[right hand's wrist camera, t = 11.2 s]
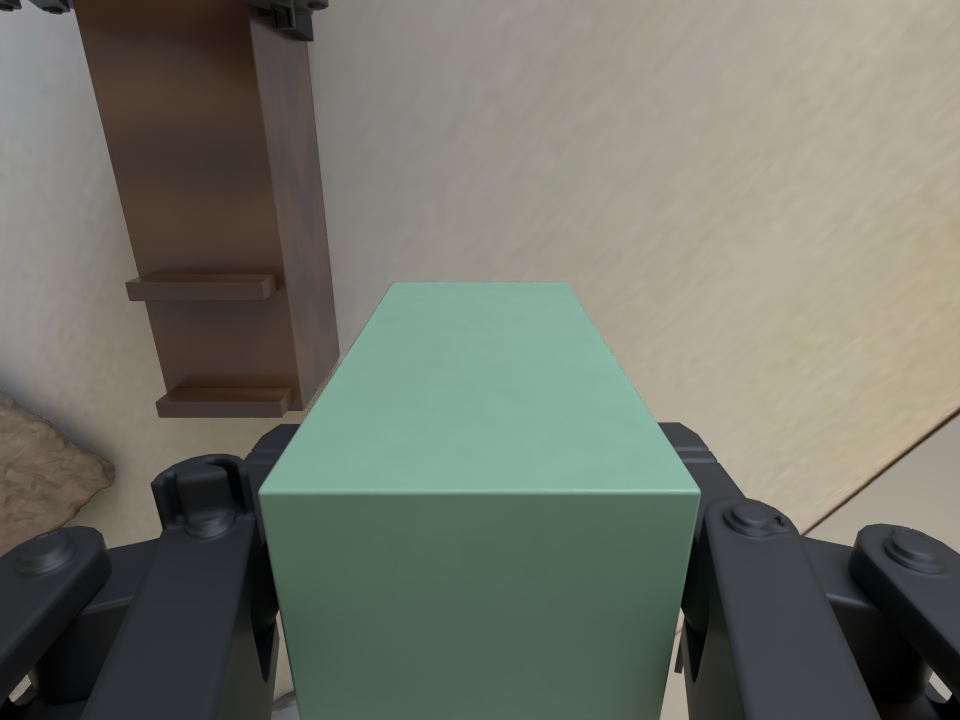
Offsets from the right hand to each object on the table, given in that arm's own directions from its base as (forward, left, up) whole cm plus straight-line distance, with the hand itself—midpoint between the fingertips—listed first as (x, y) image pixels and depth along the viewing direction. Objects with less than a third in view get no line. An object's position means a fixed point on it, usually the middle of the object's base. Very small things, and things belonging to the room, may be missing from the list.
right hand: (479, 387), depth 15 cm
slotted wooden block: (-8, +13, -24) cm, 29 cm away
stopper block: (0, 0, -2) cm, 2 cm away
